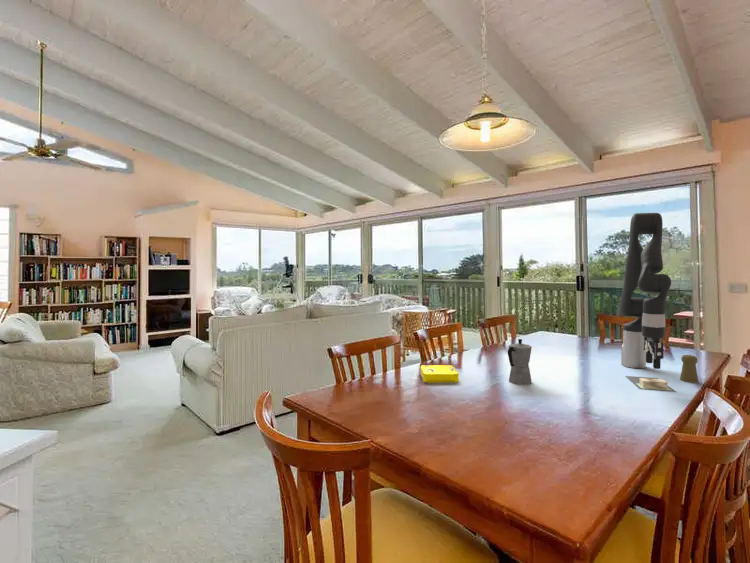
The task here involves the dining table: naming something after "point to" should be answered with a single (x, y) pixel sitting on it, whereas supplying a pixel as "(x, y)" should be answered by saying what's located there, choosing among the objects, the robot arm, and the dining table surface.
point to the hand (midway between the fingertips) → (652, 365)
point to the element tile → (438, 373)
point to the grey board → (637, 383)
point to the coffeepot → (519, 363)
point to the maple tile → (653, 383)
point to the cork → (689, 369)
